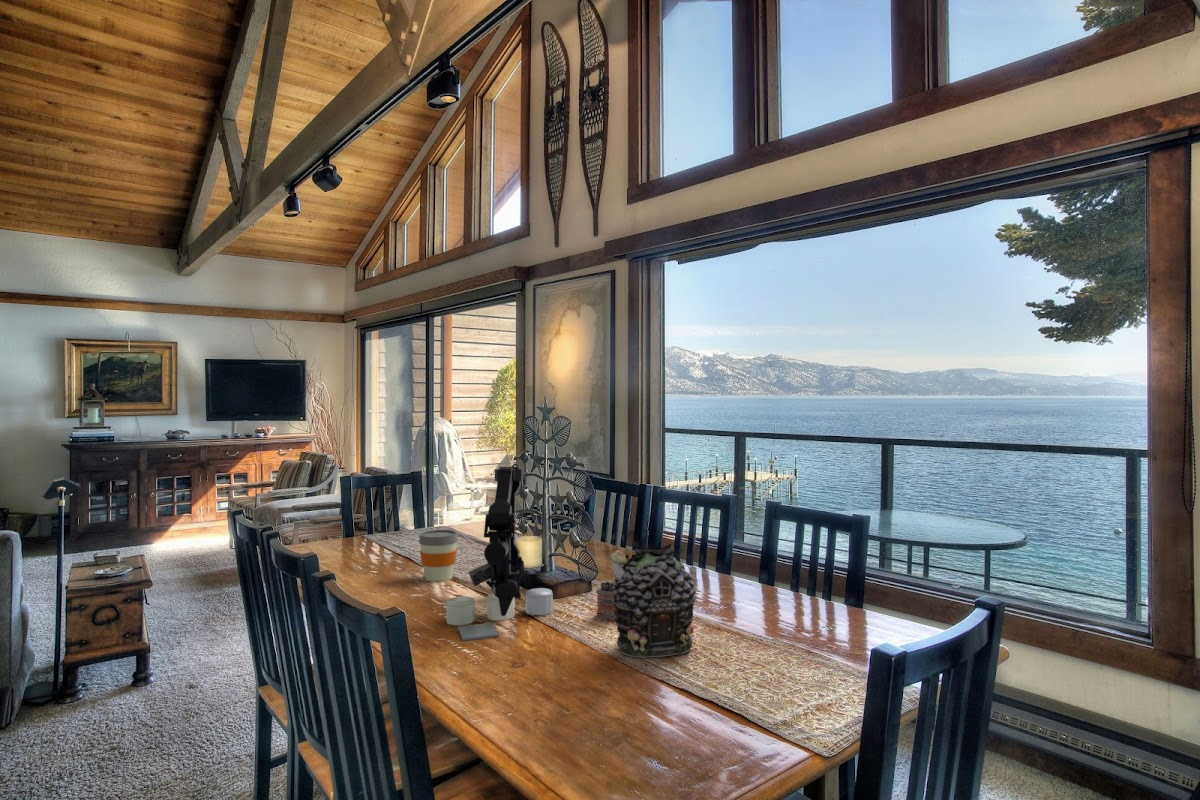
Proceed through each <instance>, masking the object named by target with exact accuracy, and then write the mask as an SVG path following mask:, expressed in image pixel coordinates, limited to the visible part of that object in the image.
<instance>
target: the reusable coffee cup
mask: <svg viewBox="0 0 1200 800" xmlns="http://www.w3.org/2000/svg"><path fill="white" fill-rule="evenodd" d="M457 542H458V533H457V531H455V530H453V529H452V530H451V529H434V530H428V531H423V532H421V533H420V534H419V541H418V544H419V545H420V551H419V553H420V561H421V565H422V566H423V574H424V580H425V581H427V582H432V581H433V583H434V582H435V583H436V582H438V581H439V582H446V581H449V580H451V579H453V574H454V565H455V563H456V560H457V552H458V551H457V550H458V549H457Z"/></svg>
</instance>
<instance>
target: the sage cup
mask: <svg viewBox="0 0 1200 800" xmlns="http://www.w3.org/2000/svg"><path fill="white" fill-rule="evenodd" d="M445 603H446V604H445V605H446V606H445V608H446V609H445V610H446V611H445V612H446V614H445V617H446V618H445V622H446V624H448V625H451V626H468V625H469V624H472V623H473V622H475V621H476V602H475V598H474V597H472V596H468V595H467V596H466V595H465V596H463V595H462V596H454V597H451V598H448V599H447V600H446V602H445Z"/></svg>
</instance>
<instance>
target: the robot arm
mask: <svg viewBox="0 0 1200 800" xmlns="http://www.w3.org/2000/svg"><path fill="white" fill-rule="evenodd" d="M494 482H496V483H497V484H496V490H495V497H494V502H493V503H492V504H490V505H489V507H488V512H487V513H486V514H485V519H484V529H483V531H484V532H483V538H489V542H488V544H487V545H486V547H485V549H484V551H483V552H484V553H483V554H484V558H485V560H486V561H487V562H486V563H485V564H483V565H480V566H478V567H476V568H474V569H471V570H470V571H468V575H469V578H470V580H471V583H472V584H473V586H475V587H476V586H479V585H481V584H482V583H484V582H485V583H486V584H487V585H488V586H489V588H491V592H492V593H494V595H495V596H496V597H498V600H499V605H500V611H501V615H502V616H505V615H506V613H507V611H508V609H509V606H510V604H511V602H512V600H513V598H514V599H515V598H520V596H521V597H522V594H521V592H520V591H521V589H520V588H521V587H520V583H521V581H520V579H521V577H523V576H525V563H524V562H525V561H524V560H523V558H522V556H521V551H520V549H519V548H518V546H517V544H516V525H517V524H516V523H517V518H516V511H517V510H516V508H517V506H516V504H517V500H516V499H517V494H518V492H519V491H520V489H521V487H522V482H524V470H523V469H521V468H520V466H519V465H518V466H499V467H498V468H497V469H494Z"/></svg>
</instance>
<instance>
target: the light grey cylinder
mask: <svg viewBox="0 0 1200 800" xmlns="http://www.w3.org/2000/svg"><path fill="white" fill-rule="evenodd" d="M553 596H554V594H553V591H552V589H550V588H545V587H537V588H530V589H528V590H526V592H525V613H526V612H527V613H526V614H527V615H529V614H531V615H530V616H534V615H541V616H546V615H545V614H547V615H549V614H548V613H550V614H552V613H551V612H553V611H554V604H553V603H554V597H553Z"/></svg>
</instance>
